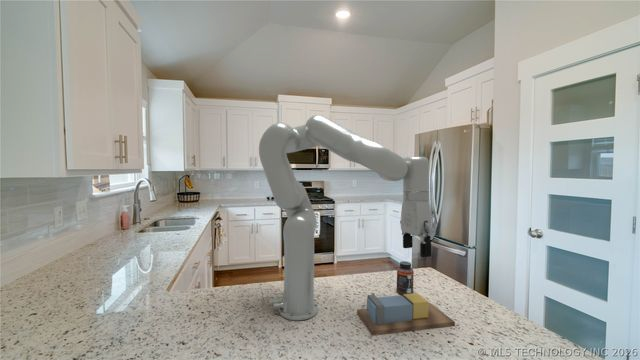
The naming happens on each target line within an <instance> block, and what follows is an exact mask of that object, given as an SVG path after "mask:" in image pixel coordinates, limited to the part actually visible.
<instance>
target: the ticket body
mask: <svg viewBox="0 0 640 360" xmlns="http://www.w3.org/2000/svg"><path fill="white" fill-rule="evenodd" d="M366 309H367V315H368V316H369V318H370V319H371V320H372V322H373V323H374V324H376V325H377V326H380V325H384V323H392V322H401V321H411V320H412V318H413V304H412V303H411V302H410V301H409V300H408V299H406V298H405V297H404V296H403V295H402V294H399V295H391V296H390V295H389V296H379V297H377V296H376V295H375V294H367V298H366Z"/></svg>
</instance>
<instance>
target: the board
mask: <svg viewBox="0 0 640 360" xmlns="http://www.w3.org/2000/svg"><path fill="white" fill-rule="evenodd" d="M356 314H357V315H358V317H359V319H361V322H363V324H364V325H365V327H366V329H367V330H368V331H369V333H370V334H371V336H381V335H388V334H389V335H390V334H396V333H405V332H412V331H413V332H414V331H421V330H429V329H439V328H447V327H454V326H455V325H456V322H455V321H454V320H453V319H452V318H451V317H449V315H448V314H446V313H444V312H443V311H441V310H440V309H439V308H438V307H436V306H435V305H434V304H433V303H431V302H429V306H428V317H427V318H418V319H413V318H412V320H411V321H401V322H392V323H384V325H380V326H377V325H376V324H374V323H373V322H372V320H371V319H370V318H369V316H368V315H367V308H360V309H359V308H358V309H356Z"/></svg>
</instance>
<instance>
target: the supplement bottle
mask: <svg viewBox="0 0 640 360" xmlns="http://www.w3.org/2000/svg"><path fill="white" fill-rule="evenodd" d="M414 274H415V273H414V269H413V268H412V263H411V262H409V261H406V260H405V261H403V260H402V261H400V262H399V267H397V269H396V292H397V293H398V294H399V295H403V294H414Z"/></svg>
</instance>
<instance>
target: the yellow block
mask: <svg viewBox="0 0 640 360" xmlns="http://www.w3.org/2000/svg"><path fill="white" fill-rule="evenodd" d="M403 296H404V297H405V298H406V299H408V300H409V301H410V302H411V303H412V304H413V319H418V318H427V317H428V306H429V303H430V302H429V301H428V300H427V299H426V298H424V297H423V296H422V295H421V294H419V293H418V292H415V293H414V292H413V294H403Z"/></svg>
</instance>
